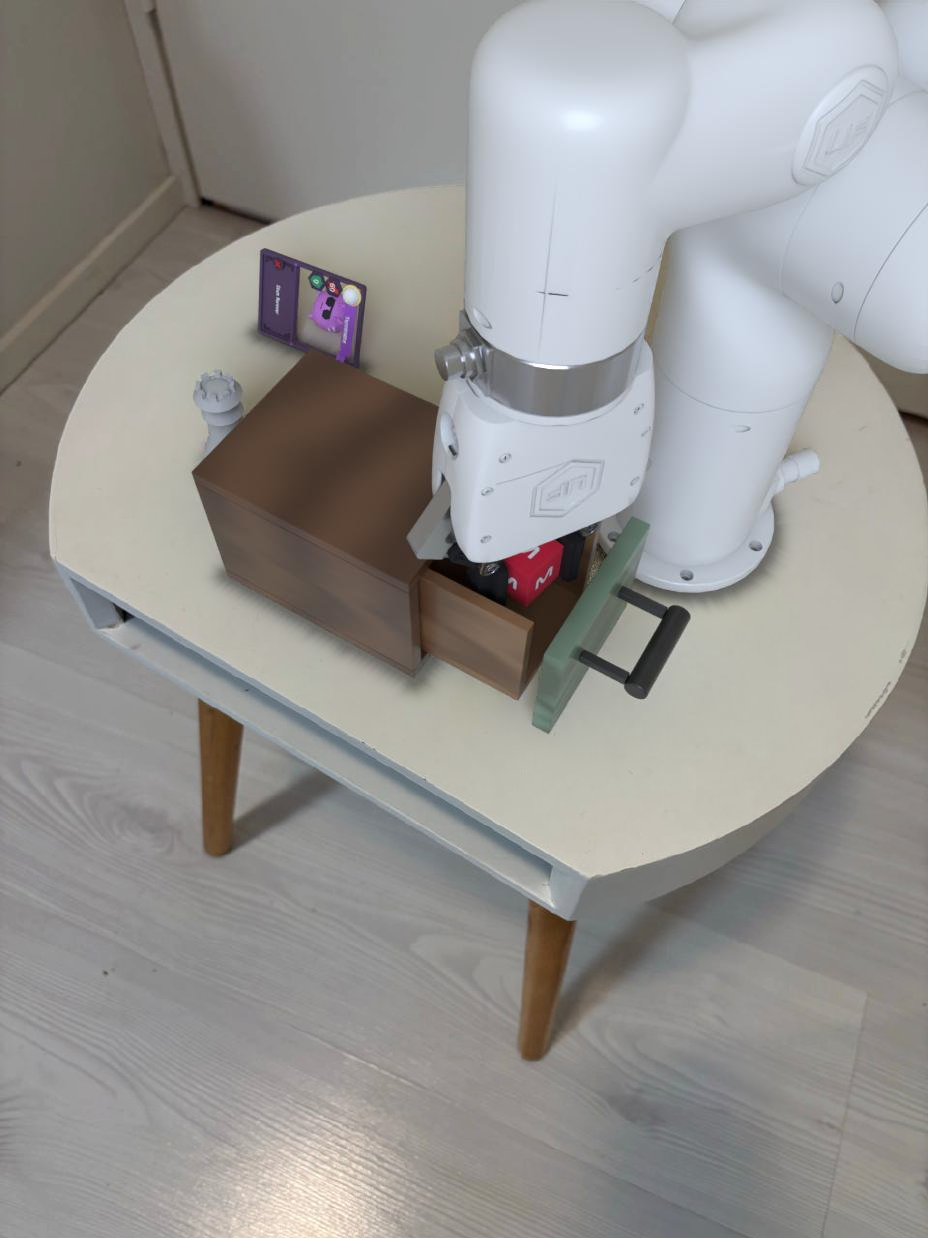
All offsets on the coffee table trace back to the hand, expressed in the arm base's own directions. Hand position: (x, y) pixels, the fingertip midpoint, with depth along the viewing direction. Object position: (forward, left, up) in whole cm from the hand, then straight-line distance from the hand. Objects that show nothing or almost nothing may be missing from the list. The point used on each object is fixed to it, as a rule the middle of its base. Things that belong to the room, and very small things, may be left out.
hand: (523, 575), depth 56 cm
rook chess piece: (+11, -21, -8) cm, 25 cm away
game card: (+1, -31, -8) cm, 32 cm away
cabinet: (+6, -10, -7) cm, 14 cm away
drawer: (0, 0, -6) cm, 6 cm away
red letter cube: (0, 0, 0) cm, 0 cm away
